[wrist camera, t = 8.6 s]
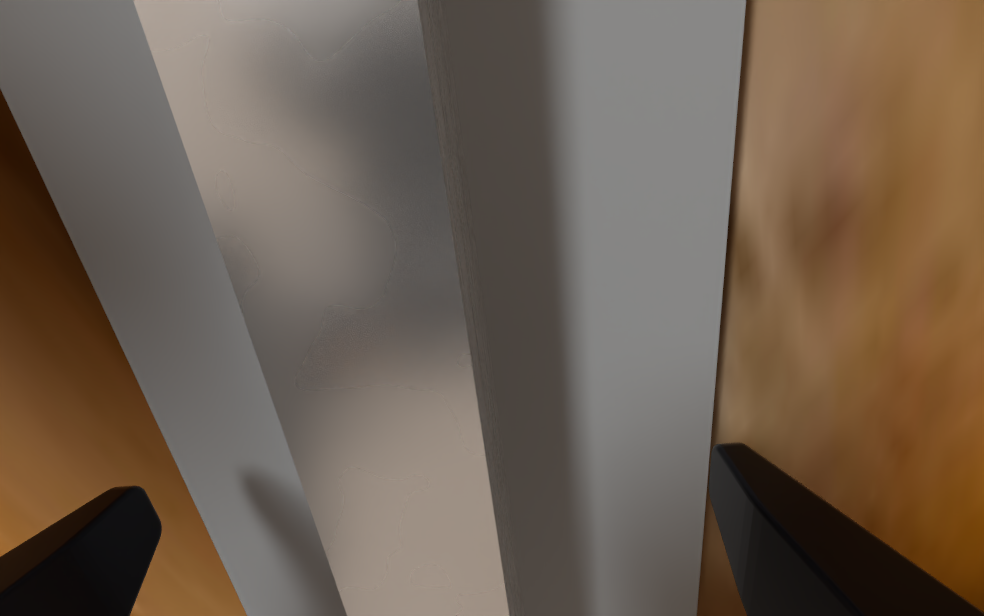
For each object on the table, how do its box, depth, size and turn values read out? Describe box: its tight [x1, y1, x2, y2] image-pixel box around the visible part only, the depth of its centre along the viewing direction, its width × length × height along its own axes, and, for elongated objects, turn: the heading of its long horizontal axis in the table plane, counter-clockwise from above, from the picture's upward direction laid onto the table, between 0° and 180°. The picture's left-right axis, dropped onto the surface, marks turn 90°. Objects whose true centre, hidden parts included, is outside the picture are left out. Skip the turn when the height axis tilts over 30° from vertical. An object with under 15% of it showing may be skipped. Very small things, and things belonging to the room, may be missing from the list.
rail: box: [133, 0, 524, 616], centre depth 9 cm, size 23×2×2 cm, turn 6°
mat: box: [0, 0, 746, 616], centre depth 10 cm, size 28×10×1 cm, turn 6°
